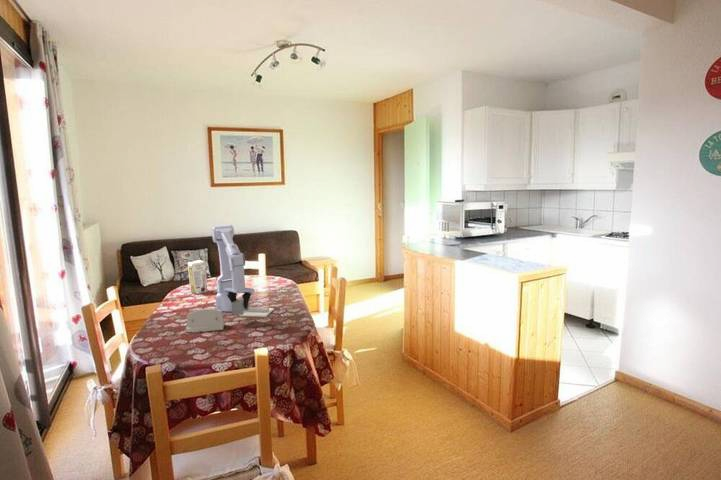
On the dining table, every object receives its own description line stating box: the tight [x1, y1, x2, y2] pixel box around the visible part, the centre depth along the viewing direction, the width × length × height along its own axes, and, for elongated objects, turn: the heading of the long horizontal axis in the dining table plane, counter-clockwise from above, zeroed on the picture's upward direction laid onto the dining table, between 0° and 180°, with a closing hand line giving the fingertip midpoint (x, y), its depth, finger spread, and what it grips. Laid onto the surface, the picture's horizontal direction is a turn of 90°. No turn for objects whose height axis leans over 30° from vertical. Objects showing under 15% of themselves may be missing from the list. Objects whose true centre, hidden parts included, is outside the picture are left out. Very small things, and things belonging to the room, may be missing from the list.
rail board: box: [238, 306, 275, 318], centre depth 206 cm, size 14×11×2 cm
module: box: [231, 297, 250, 316], centre depth 192 cm, size 5×7×6 cm
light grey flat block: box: [185, 308, 226, 333], centre depth 186 cm, size 17×5×10 cm, turn 101°
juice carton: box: [187, 259, 208, 295], centre depth 244 cm, size 8×9×19 cm
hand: (240, 307), depth 192 cm, fingers closed on module, 5 cm apart
